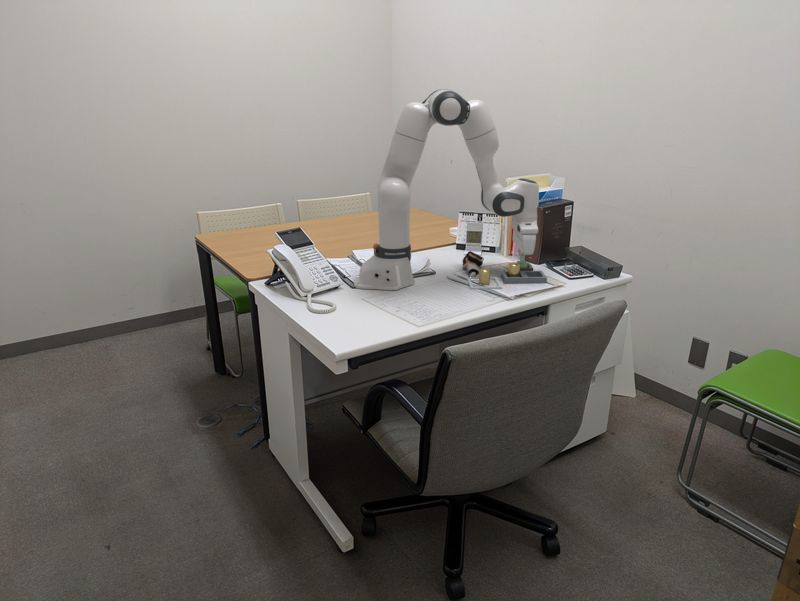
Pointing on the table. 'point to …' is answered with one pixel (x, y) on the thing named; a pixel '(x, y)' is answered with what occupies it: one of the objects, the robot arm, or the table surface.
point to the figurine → (472, 263)
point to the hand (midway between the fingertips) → (521, 259)
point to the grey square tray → (485, 287)
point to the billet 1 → (484, 276)
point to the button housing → (529, 268)
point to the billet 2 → (513, 269)
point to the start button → (522, 264)
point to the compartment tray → (524, 278)
